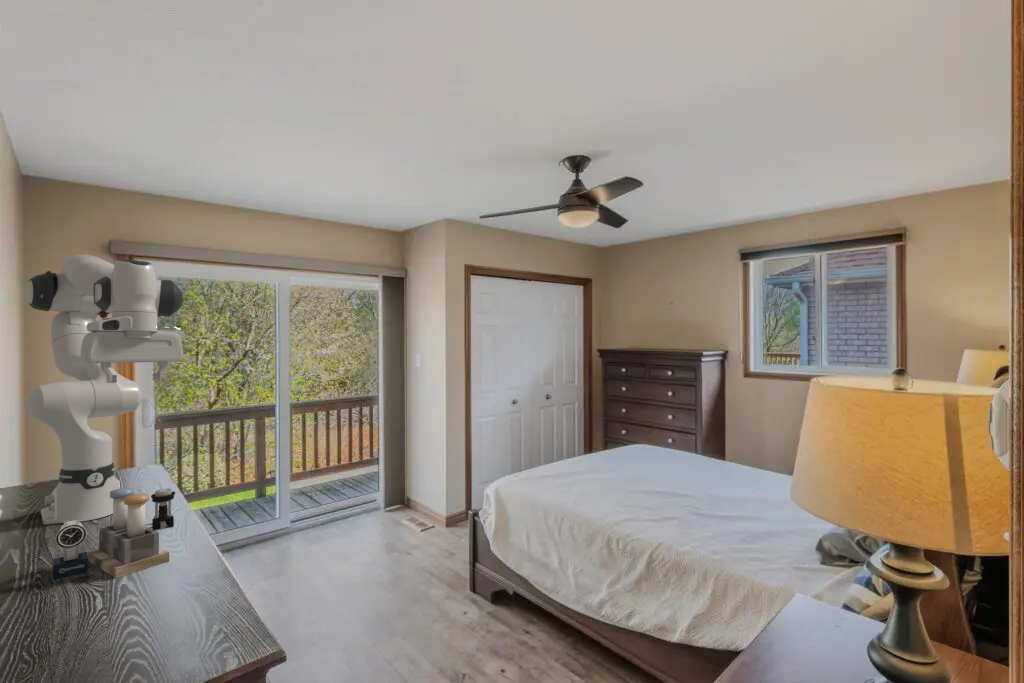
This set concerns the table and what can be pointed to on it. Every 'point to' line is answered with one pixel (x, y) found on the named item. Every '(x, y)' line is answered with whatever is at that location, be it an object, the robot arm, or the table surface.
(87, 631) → the table surface
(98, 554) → the mount
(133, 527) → the knob
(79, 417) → the robot arm
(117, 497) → the knob
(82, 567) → the watch
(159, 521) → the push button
